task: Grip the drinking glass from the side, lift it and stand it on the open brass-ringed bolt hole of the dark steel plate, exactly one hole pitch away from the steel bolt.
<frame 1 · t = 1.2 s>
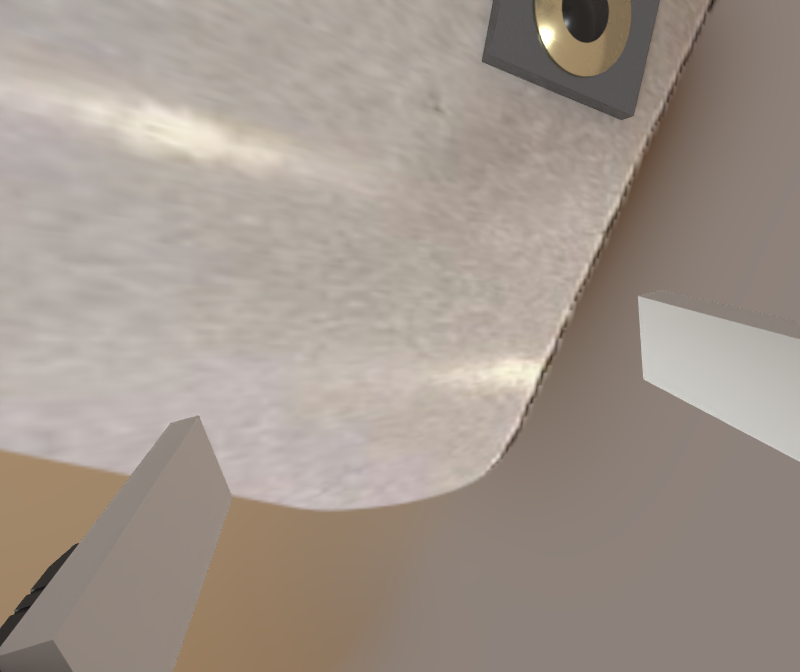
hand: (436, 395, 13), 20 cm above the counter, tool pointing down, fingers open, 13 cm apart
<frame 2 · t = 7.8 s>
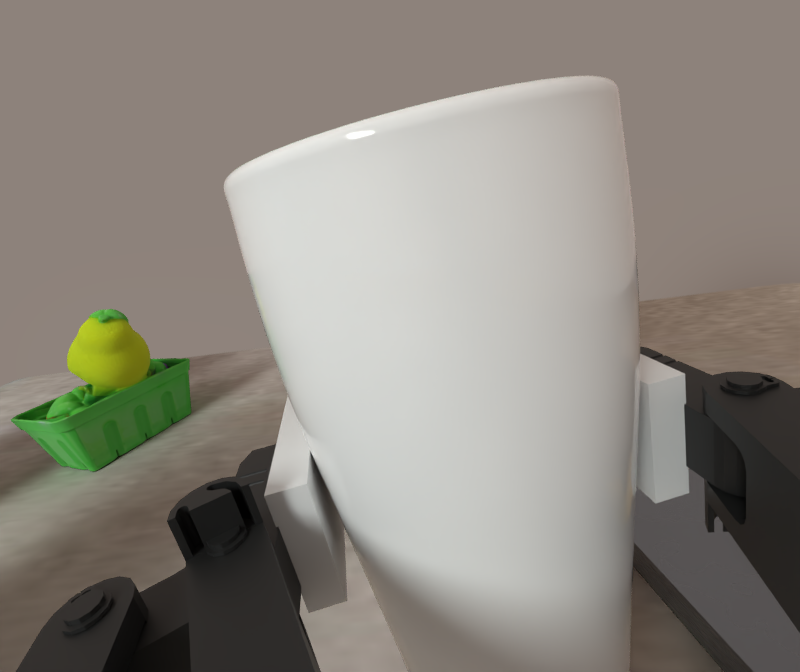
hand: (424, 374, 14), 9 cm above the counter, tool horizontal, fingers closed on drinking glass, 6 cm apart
fruit basket: (136, 440, 38), on the counter
when the fingers open (11 cm above the counter, at t = 13.6 s): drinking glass drops 1 cm, resting on bolt plate.
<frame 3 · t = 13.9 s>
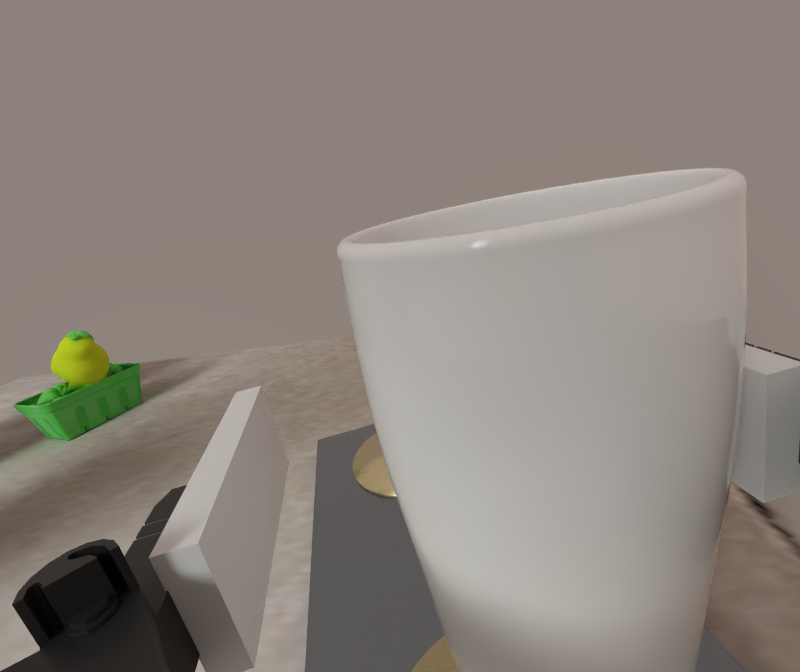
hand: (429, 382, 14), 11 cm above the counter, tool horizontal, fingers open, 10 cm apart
bolt plate: (459, 564, 21), on the counter
fruit basket: (101, 421, 54), on the counter
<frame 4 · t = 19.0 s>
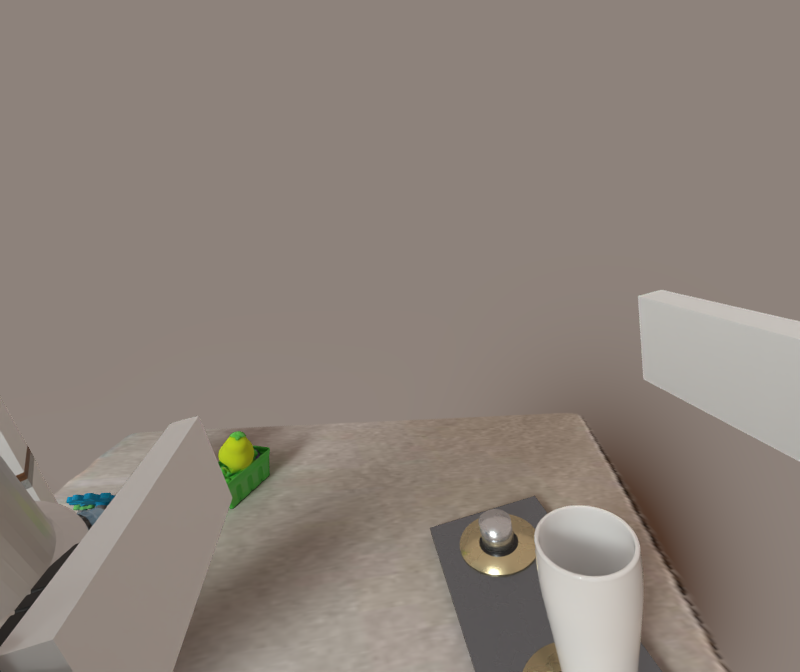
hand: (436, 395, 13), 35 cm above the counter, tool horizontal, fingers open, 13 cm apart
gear: (109, 519, 76), on the counter
bolt plate: (532, 615, 42), on the counter
white banded pillar: (50, 619, 57), on the counter, touching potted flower
fruit basket: (244, 491, 75), on the counter
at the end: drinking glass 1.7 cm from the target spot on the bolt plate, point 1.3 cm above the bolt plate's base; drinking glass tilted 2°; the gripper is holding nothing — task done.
